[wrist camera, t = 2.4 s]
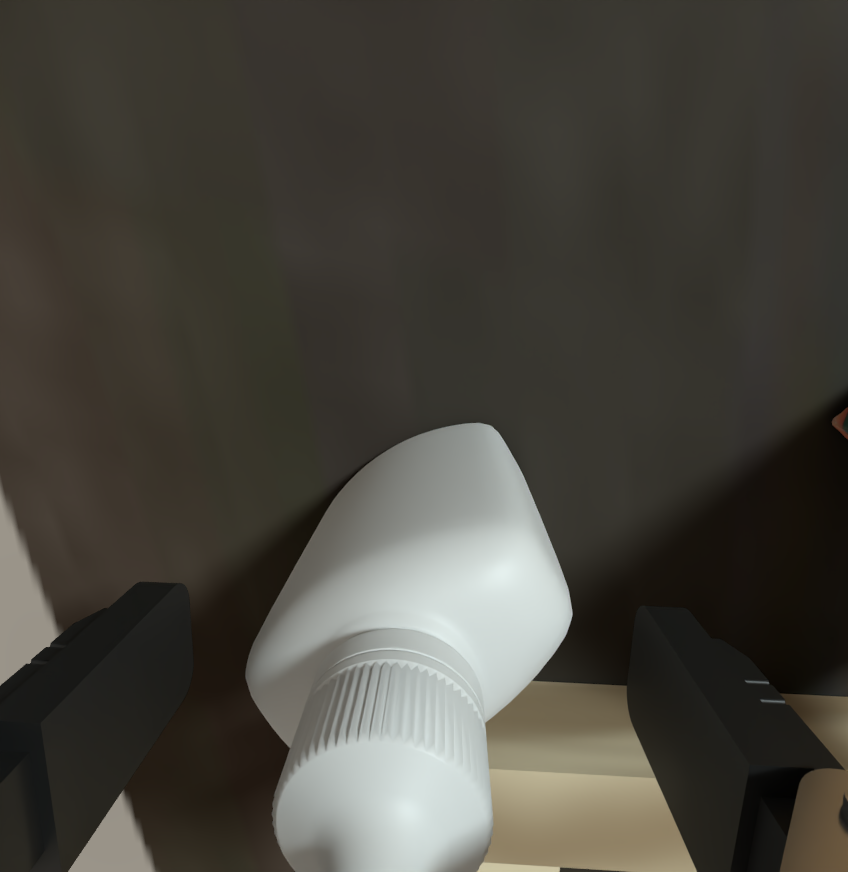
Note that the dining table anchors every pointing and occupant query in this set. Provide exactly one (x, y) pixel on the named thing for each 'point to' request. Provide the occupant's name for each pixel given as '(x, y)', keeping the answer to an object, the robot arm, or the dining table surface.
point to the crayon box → (841, 423)
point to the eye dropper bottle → (406, 655)
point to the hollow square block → (595, 781)
